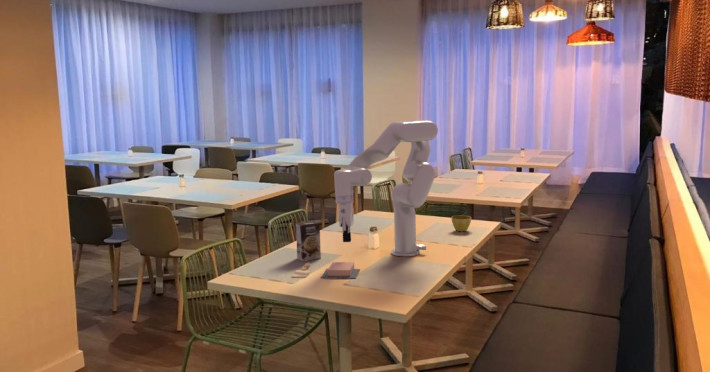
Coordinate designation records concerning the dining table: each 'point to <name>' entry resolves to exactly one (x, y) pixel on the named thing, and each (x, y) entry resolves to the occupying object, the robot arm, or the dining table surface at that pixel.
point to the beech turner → (302, 272)
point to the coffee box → (308, 240)
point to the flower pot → (461, 222)
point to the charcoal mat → (353, 276)
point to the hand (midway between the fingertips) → (347, 241)
